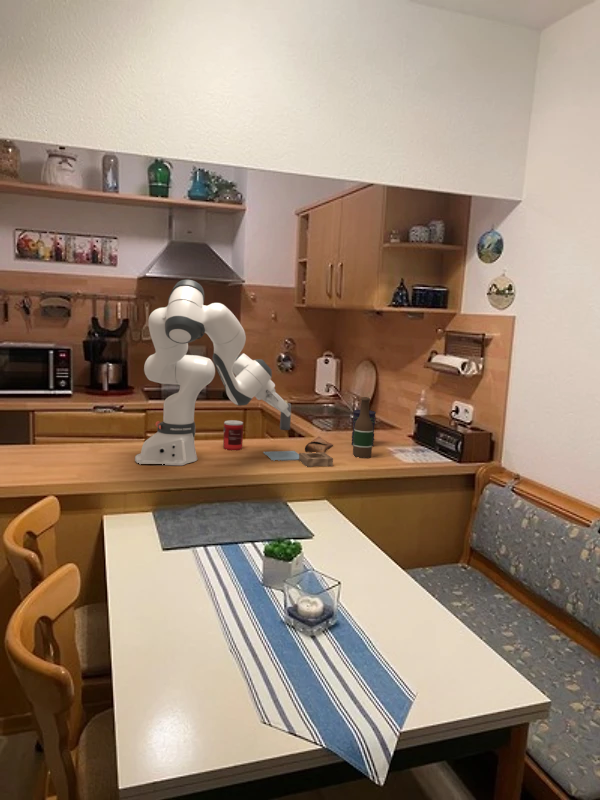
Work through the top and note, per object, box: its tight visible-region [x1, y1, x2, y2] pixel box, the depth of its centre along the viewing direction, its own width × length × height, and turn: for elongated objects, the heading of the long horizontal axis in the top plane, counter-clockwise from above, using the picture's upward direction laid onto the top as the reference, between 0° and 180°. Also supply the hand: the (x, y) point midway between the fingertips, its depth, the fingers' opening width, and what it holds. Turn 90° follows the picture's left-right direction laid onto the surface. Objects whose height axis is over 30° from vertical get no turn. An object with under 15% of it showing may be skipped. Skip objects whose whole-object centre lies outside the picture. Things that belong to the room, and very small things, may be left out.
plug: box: [279, 399, 292, 431], centre depth 238 cm, size 4×4×11 cm
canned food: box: [222, 419, 244, 451], centre depth 249 cm, size 8×8×11 cm
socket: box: [298, 452, 334, 468], centre depth 231 cm, size 10×10×3 cm
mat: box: [262, 450, 299, 462], centre depth 240 cm, size 13×13×1 cm
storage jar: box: [351, 409, 377, 447], centre depth 268 cm, size 10×10×15 cm
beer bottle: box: [352, 396, 373, 459], centre depth 245 cm, size 8×8×24 cm
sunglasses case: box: [304, 436, 334, 453], centre depth 258 cm, size 18×7×7 cm
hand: (287, 414), depth 238 cm, fingers closed on plug, 4 cm apart
